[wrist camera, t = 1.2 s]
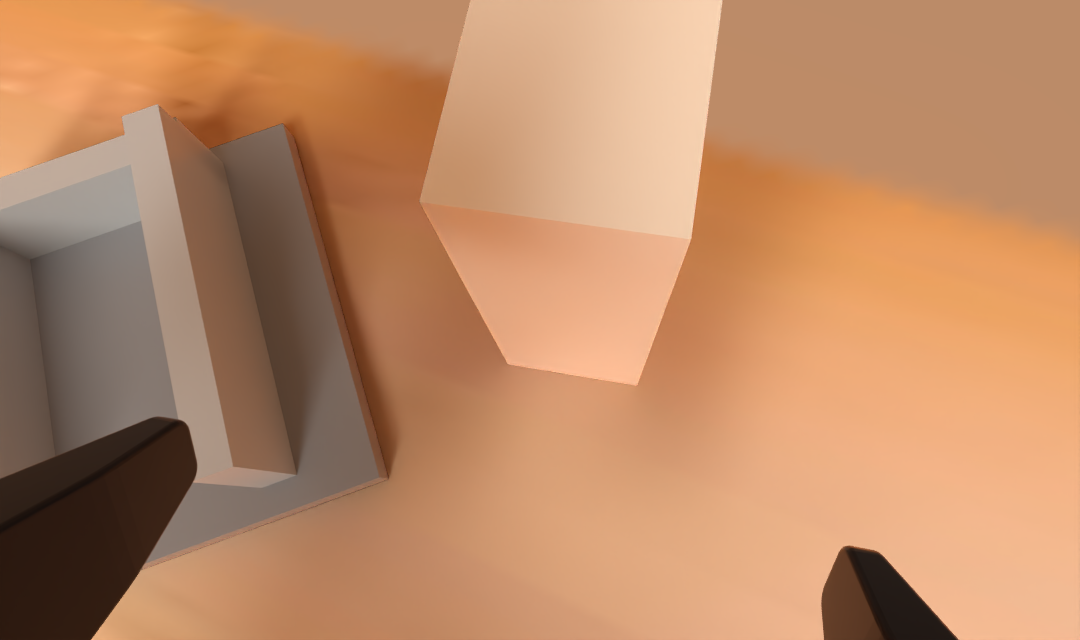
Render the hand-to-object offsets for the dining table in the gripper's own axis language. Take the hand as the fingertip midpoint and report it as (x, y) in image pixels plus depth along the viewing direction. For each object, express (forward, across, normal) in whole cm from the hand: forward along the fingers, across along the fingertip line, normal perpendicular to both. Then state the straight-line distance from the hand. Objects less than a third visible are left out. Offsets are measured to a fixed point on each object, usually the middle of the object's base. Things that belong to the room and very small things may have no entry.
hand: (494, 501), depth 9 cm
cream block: (+14, 0, +4) cm, 15 cm away
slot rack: (+11, +15, +8) cm, 20 cm away
